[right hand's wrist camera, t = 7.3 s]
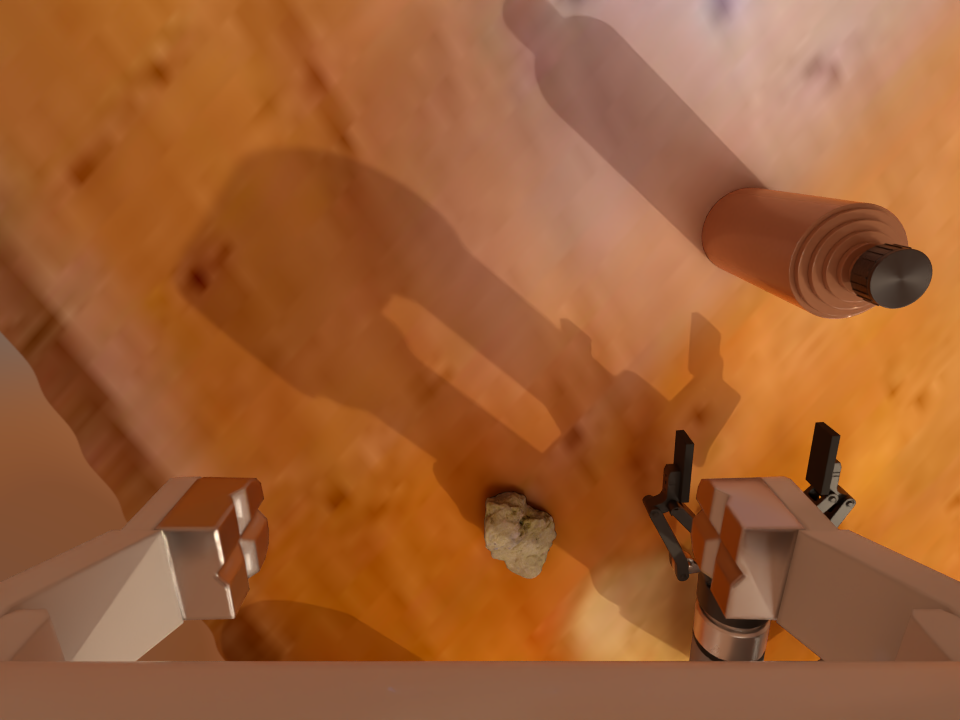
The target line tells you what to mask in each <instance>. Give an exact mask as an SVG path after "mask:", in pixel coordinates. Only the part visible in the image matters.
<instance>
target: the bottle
mask: <svg viewBox="0 0 960 720" xmlns="http://www.w3.org/2000/svg"><path fill="white" fill-rule="evenodd" d="M702 243H703V248H704V251H705V253H706V255H707V257H708V258H709V259H710V261H711V262H712V263H713V264H714V265H716V266H717V267H719V268H720V269H722V270H724V271H727V272H729V273H731V274H733V275H735V276H737V277H739V278H741V279H743V280H745V281H747V282H749V283H751V284H753V285H755V286H757V287H759V288H761V289H763V290H765V291H767V292H769V293H771V294H773V295H775V296H777V297H779V298H781V299H783V300H785V301H787V302H789V303H791V304H793V305H795V306H797V307H799V308H801V309H803V310H806V311H808V312H810V313H812V314H814V315H816V316H819V317H823V318H829V319H840V318H847V317H852V316H855V315H858V314H861V313H863V312H865V311H867V310H869V309H871V308H872V307H874V306H876V305H874V304H872V303H869V302H867V301H864V300H863V299H862V298H860V297H858V296H856V294H855V292H854V291H853V290H852V287H851V283H850V275H851V274H850V273H851V270H852V268H853V266H854V264H855V262H856V260H857V259H858V258H859V256H861V255H862V254H863V253H864V252H865V251H867V250H868V249H870V248H872V247H874V246H875V245H881V244H885V243H888V244H898V245H902V246H907V247H908V241H907V236H906V233H905V230H904V228H903V226H902V224H901V222H900V221H899V220H898V218H897V217H896V216H895V215H894V214H893V213H891V212H890V211H889V210H887V209H885V208H883V207H881V206H878V205H875V204H870V203H863V202H856V201H848V200H841V199H834V198H827V197H819V196H812V195H805V194H798V193H790V192H783V191H776V190H769V189H761V188H742V189H738V190H735V191H733V192H731V193H729V194H727V195H726V196H724V197H723V198H721V199H720V200H719V201H718V202H717V203H716V204H715V205H714V206H713V208H712V209H711V210H710V212H709V214H708V215H707V217H706V220H705V222H704V226H703V231H702Z"/></svg>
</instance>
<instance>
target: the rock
mask: <svg viewBox="0 0 960 720" xmlns="http://www.w3.org/2000/svg"><path fill="white" fill-rule="evenodd" d="M484 530H485V533H484V538H485V542H486V548H487V549H488V550H490V551H491V555H492V558H494V559H499V560H504V561H505V563H506V565H507V568H508V569H509V570H510V571H512V572H514V573H516V574H518V575H520V576H522V577H525V578H534V577H536V576H537V575H539V574H540V572H541V570H542V566H543V564H544V562H545V561H546V557H547V552H548V551H549V548H550V547H551V546H552V541H553V540H554V539H555V538H556V532H555V530H554V522H553V518H552V517H551V515H549V514H547V513H546V512H543V511H539V510H537V509H533V508H532V507H531V506H529V505H527V504H526V497H525V496H524V495H521V494H518V493H516V492H504V493H501V494H498V495H496V496H494V497H491V498H487V500H486V514H485V519H484Z"/></svg>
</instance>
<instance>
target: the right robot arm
mask: <svg viewBox="0 0 960 720" xmlns="http://www.w3.org/2000/svg"><path fill="white" fill-rule="evenodd" d="M263 499H264V496H263V491H262V486H261V483H260V482H259V480H258V479H257V478H228V477H203V478H202V477H175V478H171V479H169V480H168V481H167V482H166V483H165V484H164V485H163V486H162V488H161V489H160V490H159V491H158V492H157V493H156V494H155V495H154V496H153V497H152V498H151V499H150V500H149V501H148V502H147V503H146V504H145V505H144V506H143V507H142V508H141V510H140V511H139V512H138V513H137V514H136V515H135V516H134V517H133V518H132V519H131V520H130V521H129V522H128V523H127V524H126V525H125V526H124V527H123V528H122V529H121V530H111V531H109V532H106V533H104V534H102V535H100V536H98V537H96V538H94V539H91V540H89V541H87V542H85V543H83V544H81V545H78V546H76V547H74V548H72V549H70V550H68V551H66V552H63V553H61V554H59V555H57V556H55V557H53V558H50V559H48V560H46V561H44V562H42V563H40V564H38V565H35V566H33V567H31V568H29V569H27V570H25V571H22V572H20V573H18V574H16V575H14V576H12V577H10V578H7V579H5V580H3V581H1V582H0V720H960V582H959V581H957V580H955V579H952V578H950V577H948V576H946V575H944V574H942V573H939V572H937V571H935V570H933V569H931V568H929V567H927V566H924V565H922V564H920V563H918V562H916V561H914V560H912V559H909V558H907V557H905V556H903V555H901V554H899V553H897V552H894V551H892V550H890V549H888V548H886V547H884V546H881V545H879V544H877V543H875V542H873V541H871V540H869V539H866V538H864V537H862V536H860V535H858V534H856V533H854V532H851V531H849V530H839V529H838V528H837V527H836V526H835V525H834V524H833V523H832V522H831V521H830V520H829V519H828V518H827V517H826V516H825V515H824V514H823V513H822V512H821V510H820V509H819V508H818V507H817V506H816V505H815V504H814V503H813V502H812V501H811V500H810V499H809V498H808V497H807V496H806V495H805V494H804V493H803V492H802V491H801V490H800V488H799V487H798V486H797V485H796V484H795V483H794V482H793V481H792V480H791V479H789V478H786V477H784V476H782V477H756V478H722V479H701V481H700V483H699V486H698V490H697V495H696V499H697V501H698V503H699V504H700V506H701V508H702V510H701V511H700V512H699V513H698V514H697V515H696V516H695V517H694V518H693V520H692V529H691V542H692V551H693V554H694V557H695V561H696V563H697V565H698V567H699V569H700V571H701V572H703V573H704V574H706V575H707V576H709V577H710V578H712V582H711V588H710V590H711V592H712V594H713V595H714V597H715V599H716V601H717V603H718V605H719V607H720V609H721V610H722V612H723V614H724V616H725V618H726V619H755V620H777V623H778V624H779V625H780V626H782V627H783V628H784V629H785V630H787V631H788V632H789V633H790V634H792V635H793V636H794V637H795V638H796V639H798V640H799V641H800V642H801V643H803V644H804V645H805V646H806V647H808V648H809V649H810V650H811V651H813V652H814V653H815V654H816V655H818V656H819V657H820V658H821V659H823V660H824V661H136V660H138V659H139V658H140V657H141V656H143V655H144V654H145V653H146V652H148V651H149V650H150V649H151V648H152V647H154V646H155V645H156V644H157V643H159V642H160V641H161V640H162V639H164V638H165V637H166V636H167V635H169V634H170V633H171V632H172V631H174V630H175V629H176V628H177V627H179V626H180V625H181V624H182V623H183V620H204V619H234V618H235V616H236V614H237V612H238V611H239V609H240V607H241V605H242V603H243V601H244V599H245V597H246V596H247V594H248V592H249V590H250V588H249V582H248V578H250V577H251V576H253V575H254V574H256V573H257V572H259V571H260V569H261V567H262V565H263V563H264V561H265V558H266V553H267V549H268V545H269V527H268V520H267V518H266V517H265V516H264V515H263V514H262V513H261V512H260V511H259V510H258V508H259V506H260V504H261V503H262V501H263Z"/></svg>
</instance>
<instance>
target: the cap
mask: <svg viewBox="0 0 960 720" xmlns="http://www.w3.org/2000/svg"><path fill="white" fill-rule="evenodd" d="M850 274H851V275H850V283H851V287H852V290H853V291H854V292H855V294H856V296H858V297H860V298H862V299H863V300H864V301H867V302H869V303H872V304H874V305H877V306H879V305H880V306H882V307H885V308H890V309H895V308H901V307H905V306H907V305H909V304H911V303H913V302H915V301H916V300H917V299H918V298H920V297H921V296H922V295H923V293H924V292H925V291H926V289H927V288H928V286H929V284H930V281H931V278H932V265H931V262H930V260H929V258H928V257H927V256H926V255H925V254H924V253H922V252H920V251H918V250H915V249H911V247H907V246H902V245H898V244H888V243H885V244H881V245H875V246H874V247H872V248H870V249H868V250H867V251H865V252H864V253H863V254H862V255H861V256H859V258H858V259H857V260H856V262H855V264H854V266H853V268H852V270H851V273H850Z"/></svg>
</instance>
